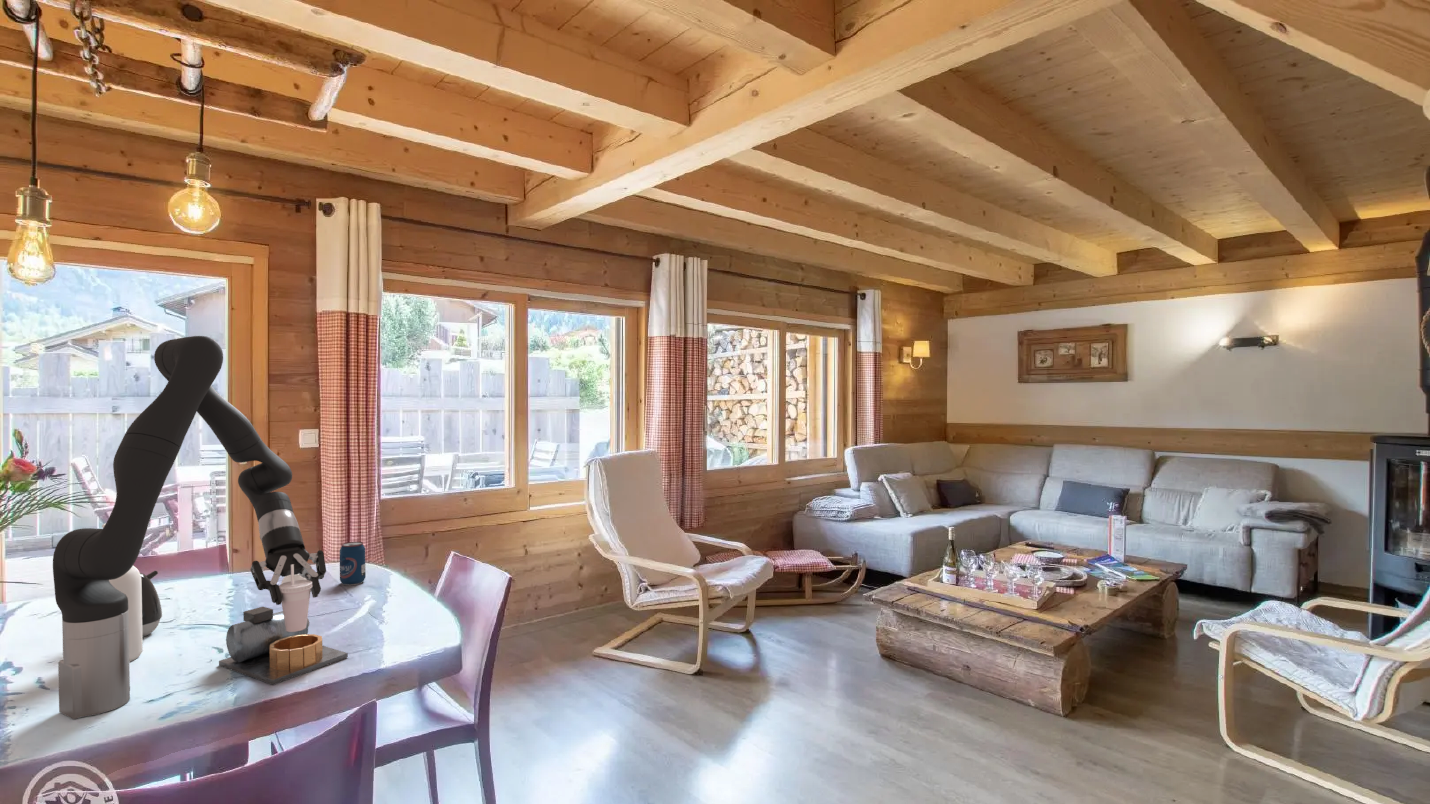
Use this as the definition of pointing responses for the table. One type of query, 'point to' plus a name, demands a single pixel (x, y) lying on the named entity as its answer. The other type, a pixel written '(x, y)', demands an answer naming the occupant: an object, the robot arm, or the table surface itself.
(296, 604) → the smoothie
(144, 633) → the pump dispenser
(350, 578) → the soda can
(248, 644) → the motor
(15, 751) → the table surface
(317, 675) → the table surface
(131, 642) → the alcohol
